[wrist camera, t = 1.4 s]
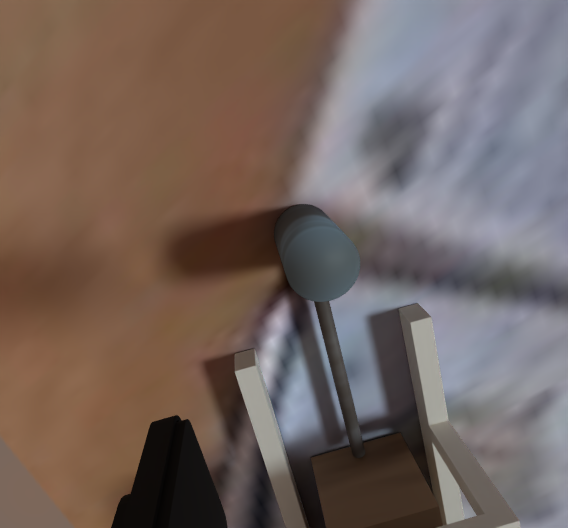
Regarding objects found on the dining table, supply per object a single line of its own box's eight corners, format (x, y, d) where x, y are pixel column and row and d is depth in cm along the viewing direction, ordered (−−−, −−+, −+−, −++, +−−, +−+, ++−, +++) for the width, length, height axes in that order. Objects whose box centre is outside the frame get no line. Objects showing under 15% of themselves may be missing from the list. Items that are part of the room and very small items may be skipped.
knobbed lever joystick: (242, 219, 25) (244, 250, 19) (350, 190, 25) (384, 211, 19) (333, 537, 32) (355, 628, 26) (417, 513, 32) (456, 599, 26)
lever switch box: (234, 353, 27) (234, 466, 18) (417, 303, 27) (504, 390, 19) (302, 563, 33) (327, 729, 24) (455, 520, 33) (536, 668, 24)
